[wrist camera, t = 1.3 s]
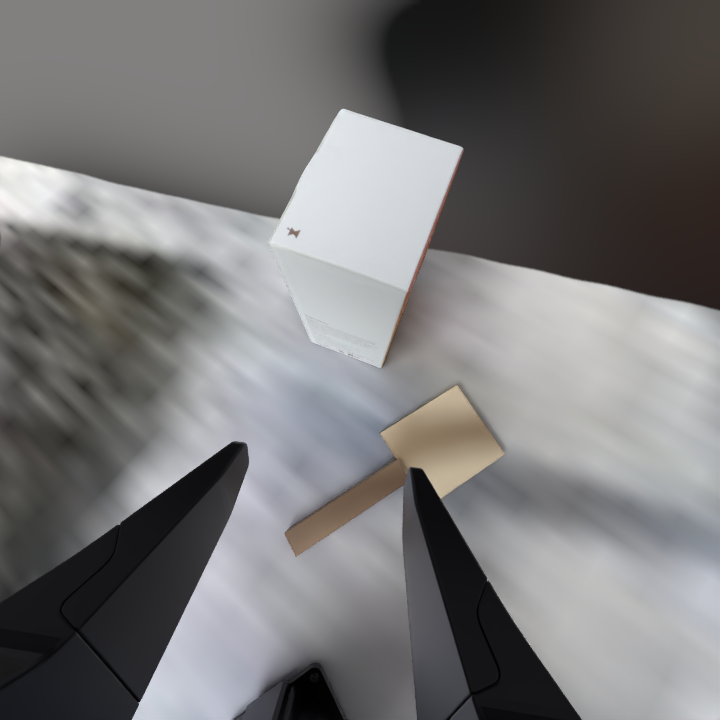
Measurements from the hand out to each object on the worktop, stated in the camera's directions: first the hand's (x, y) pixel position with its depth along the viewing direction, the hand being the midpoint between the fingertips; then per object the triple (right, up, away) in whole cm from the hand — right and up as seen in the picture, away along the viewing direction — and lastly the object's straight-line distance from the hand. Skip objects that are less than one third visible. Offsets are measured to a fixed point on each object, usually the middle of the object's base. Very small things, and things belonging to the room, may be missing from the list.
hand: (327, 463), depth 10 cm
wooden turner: (+4, -5, +13) cm, 14 cm away
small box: (+1, +7, +16) cm, 18 cm away
